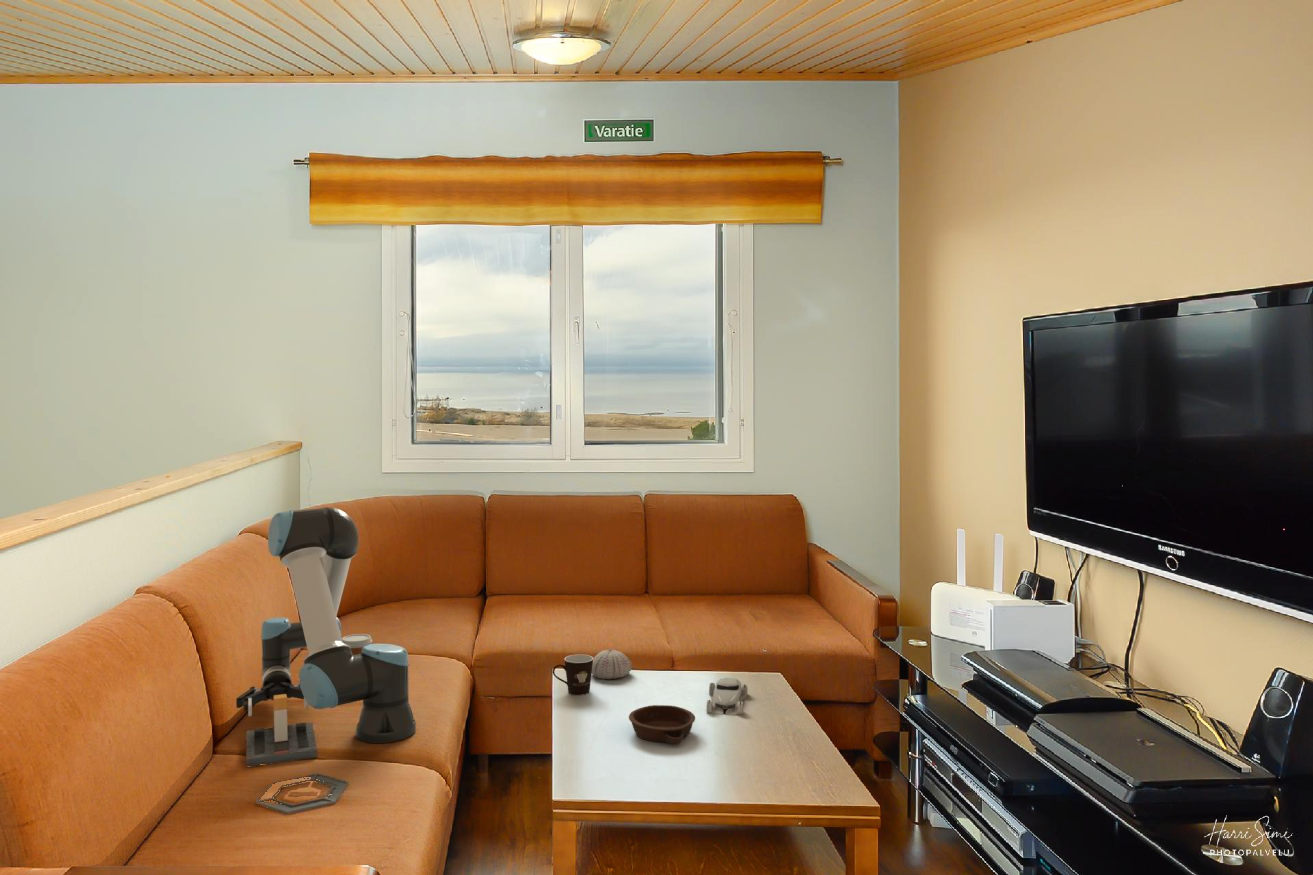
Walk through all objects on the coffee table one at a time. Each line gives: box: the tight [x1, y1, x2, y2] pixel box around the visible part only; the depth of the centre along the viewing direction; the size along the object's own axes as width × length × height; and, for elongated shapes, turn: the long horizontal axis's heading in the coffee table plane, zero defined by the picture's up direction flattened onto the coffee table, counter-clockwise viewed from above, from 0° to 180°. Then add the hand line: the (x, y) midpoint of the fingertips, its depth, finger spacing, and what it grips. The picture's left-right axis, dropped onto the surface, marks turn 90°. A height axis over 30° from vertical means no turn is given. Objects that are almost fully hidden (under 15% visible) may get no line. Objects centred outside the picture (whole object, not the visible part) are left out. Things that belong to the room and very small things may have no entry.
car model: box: [706, 677, 748, 717], centre depth 277 cm, size 11×24×5 cm, turn 172°
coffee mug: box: [552, 654, 594, 696], centre depth 284 cm, size 12×9×10 cm
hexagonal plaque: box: [255, 772, 350, 815], centre depth 214 cm, size 17×20×1 cm
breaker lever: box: [273, 694, 288, 742], centre depth 240 cm, size 3×3×11 cm
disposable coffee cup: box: [342, 633, 373, 655], centre depth 299 cm, size 10×10×12 cm
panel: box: [245, 722, 318, 767], centre depth 240 cm, size 20×16×3 cm
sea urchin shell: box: [591, 649, 633, 680], centre depth 300 cm, size 13×14×8 cm
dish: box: [628, 704, 696, 745], centre depth 251 cm, size 18×22×5 cm
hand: (278, 707), depth 245 cm, fingers open, 13 cm apart
